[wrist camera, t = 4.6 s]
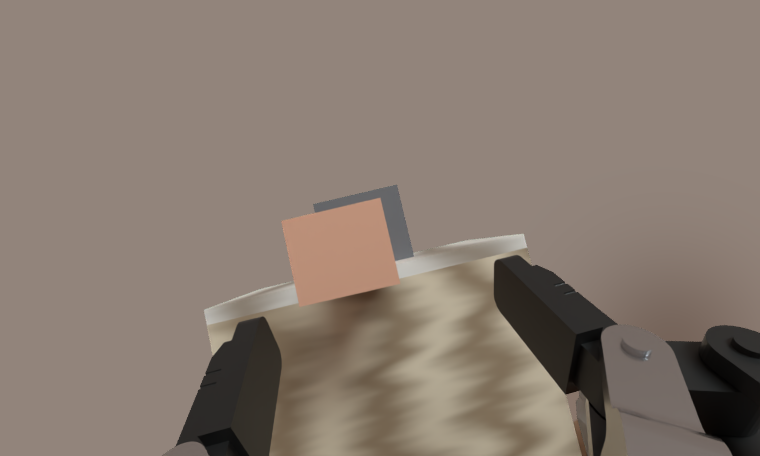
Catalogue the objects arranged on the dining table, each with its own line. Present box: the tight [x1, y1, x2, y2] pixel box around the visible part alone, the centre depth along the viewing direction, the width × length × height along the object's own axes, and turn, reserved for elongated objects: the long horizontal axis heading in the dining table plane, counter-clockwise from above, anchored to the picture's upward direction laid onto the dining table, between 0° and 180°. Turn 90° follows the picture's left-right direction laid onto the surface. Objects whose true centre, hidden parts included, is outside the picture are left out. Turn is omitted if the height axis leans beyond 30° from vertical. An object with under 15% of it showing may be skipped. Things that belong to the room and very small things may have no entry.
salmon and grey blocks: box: [281, 185, 414, 307], centre depth 20 cm, size 20×7×6 cm, turn 179°
